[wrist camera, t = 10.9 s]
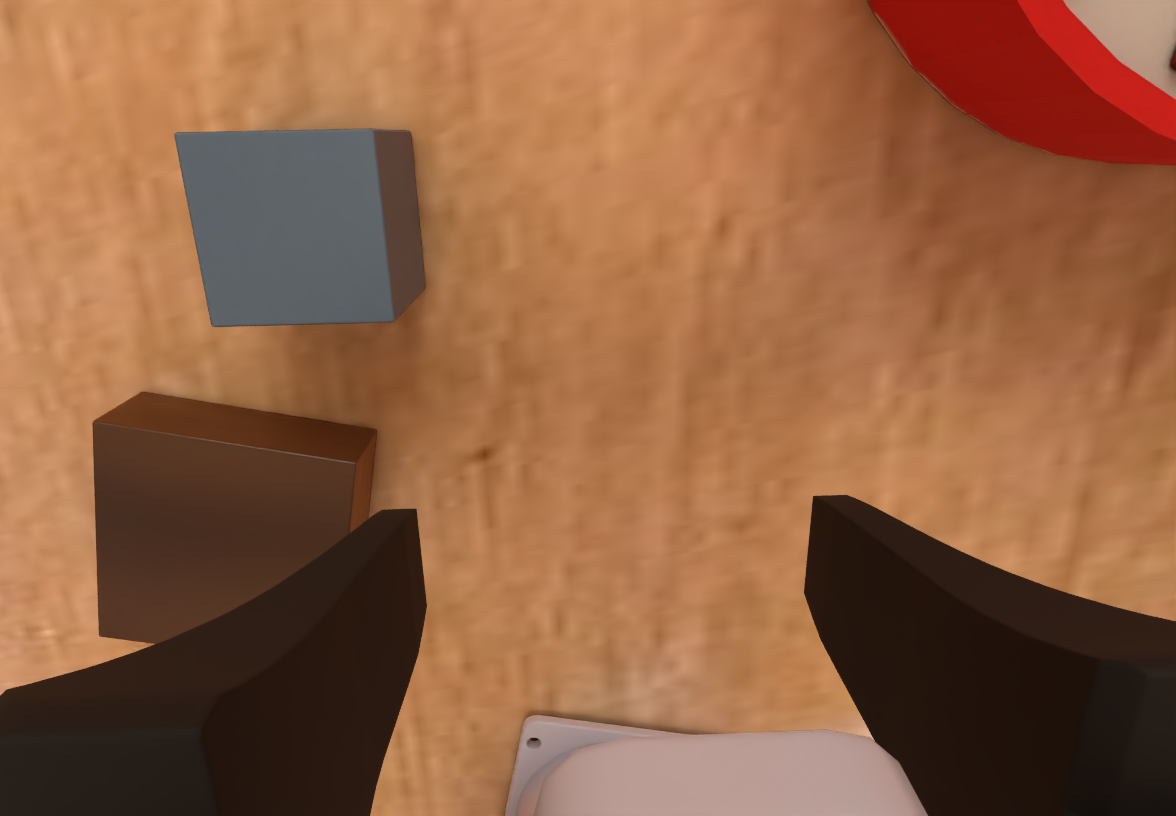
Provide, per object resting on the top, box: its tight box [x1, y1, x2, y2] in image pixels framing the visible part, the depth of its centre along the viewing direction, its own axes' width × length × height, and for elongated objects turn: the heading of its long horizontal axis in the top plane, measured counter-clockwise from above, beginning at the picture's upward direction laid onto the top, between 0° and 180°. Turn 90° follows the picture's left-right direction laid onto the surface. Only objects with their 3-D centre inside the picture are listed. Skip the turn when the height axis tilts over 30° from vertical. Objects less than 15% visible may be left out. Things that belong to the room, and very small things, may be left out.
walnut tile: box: [93, 392, 377, 644], centre depth 23 cm, size 7×7×3 cm
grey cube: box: [175, 129, 425, 327], centre depth 19 cm, size 4×4×4 cm
